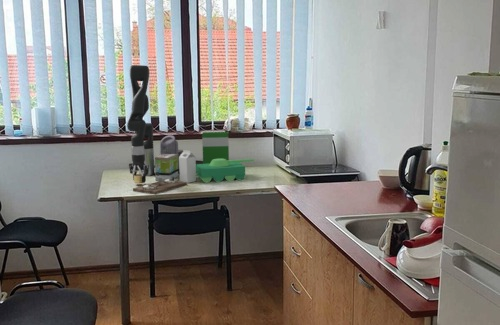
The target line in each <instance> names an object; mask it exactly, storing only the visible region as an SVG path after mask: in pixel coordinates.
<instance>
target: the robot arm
mask: <svg viewBox="0 0 500 325" xmlns="http://www.w3.org/2000/svg"><path fill="white" fill-rule="evenodd" d="M129 78H130V83H131V89H132V100H131V104H132V105H131V112H130V116H129V118H128V120H127V124H126V126H127V129H128V131H129V132H135V134H136V135H133V136H131V138H130V139H131V140H130V141H131V142H130V143H131V162H130V163H129V164H128V166H129V167H128V168H129V173H130V174H132V178H133V181H134V175H136V174H141V175H142V182H146V180H147V177H146V176H148V177H149V176H155V154H154V153H155V151H154V150H155V149H154V126H153V123H151V122H146V121H145V119H143V118H144V117H145V115H147V113H148V110H149V109H150V105H149V104H150V103H149V101H150V100H149V97H148V95H147V90H148V87H149V86H148V85H149V81H150V68H149V66H148V65H141V64H139V65H138V64H133V65H131V66H130V67H129ZM139 82H142V84H141V86H140V84H139ZM146 138H147V139H146ZM144 139H146V141H145V140H144Z"/></svg>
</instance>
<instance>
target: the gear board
mask: <svg viewBox="0 0 500 325" xmlns="http://www.w3.org/2000/svg"><path fill="white" fill-rule="evenodd" d="M187 184H188V183H187V182H182V181H180V180H179V179H177V178H174V177H172V179H167V180H166V179H165V180H162V178H159V181H154V182H151V183H148V184H145V185H141V186H137V187H133V188H132V192H136V193H143V194H152V195H156V194H160V193H163V192H167V191H170V190H173V189H176V188H180V187H183V186H186V185H187Z"/></svg>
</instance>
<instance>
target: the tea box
mask: <svg viewBox="0 0 500 325" xmlns="http://www.w3.org/2000/svg"><path fill="white" fill-rule="evenodd" d="M154 170H155V174H154V176H155V179H154V180H155V181H156V182H158V181H159V178H162V180H165V179H166V180H167V179H172V177H174V179H177V178H178V177H179V174H178V154H162V155H159V154H158V156H154Z"/></svg>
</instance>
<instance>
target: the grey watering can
mask: <svg viewBox="0 0 500 325" xmlns="http://www.w3.org/2000/svg"><path fill="white" fill-rule="evenodd" d="M183 150H184V149H179V142H178V141H177V139H176V137H175V136H174V135H171V134H169V135H168V134H167V135H166V136H164V137H163V138H162V139H161V140H160V144H159V153H158V156H159V155H162V154H178V175H180V172H179V156H180V155H181V154H182V152H183Z"/></svg>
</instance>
